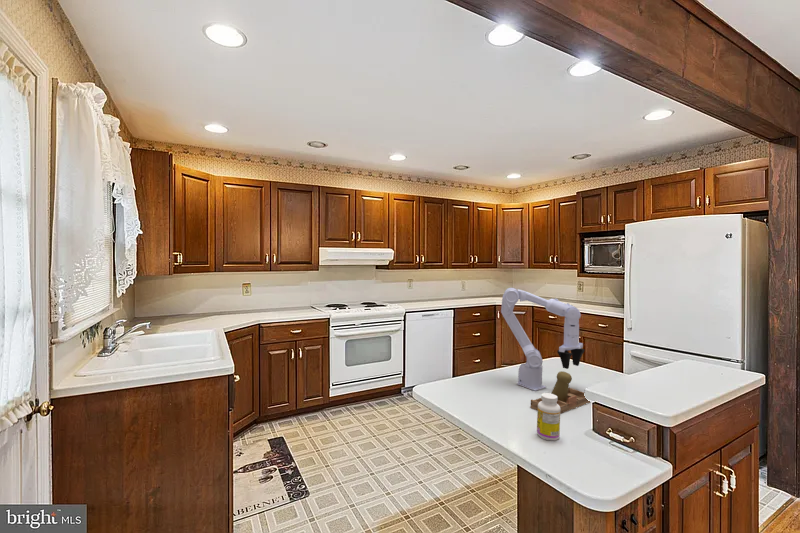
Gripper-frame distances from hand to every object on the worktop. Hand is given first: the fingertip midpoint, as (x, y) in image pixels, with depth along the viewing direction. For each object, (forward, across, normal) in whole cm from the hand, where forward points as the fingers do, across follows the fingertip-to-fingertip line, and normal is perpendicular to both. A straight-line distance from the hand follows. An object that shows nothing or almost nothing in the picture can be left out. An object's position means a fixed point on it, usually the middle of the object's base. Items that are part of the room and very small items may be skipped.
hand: (570, 366), depth 154 cm
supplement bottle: (+10, -44, -18) cm, 48 cm away
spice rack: (+10, -17, -6) cm, 21 cm away
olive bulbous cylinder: (+9, -17, -5) cm, 20 cm away
